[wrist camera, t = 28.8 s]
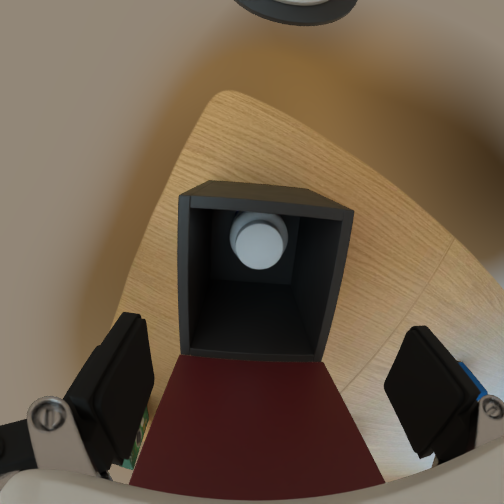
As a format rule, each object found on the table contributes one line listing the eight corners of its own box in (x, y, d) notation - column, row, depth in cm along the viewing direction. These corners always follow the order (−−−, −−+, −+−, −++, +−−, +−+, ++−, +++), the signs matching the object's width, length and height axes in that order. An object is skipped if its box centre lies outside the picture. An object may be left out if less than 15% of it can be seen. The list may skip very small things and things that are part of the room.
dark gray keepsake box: (208, 180, 31) (178, 194, 17) (308, 189, 32) (355, 210, 18) (204, 281, 35) (180, 354, 21) (294, 287, 36) (321, 362, 22)
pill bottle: (289, 217, 32) (307, 240, 23) (261, 253, 33) (267, 289, 24) (251, 189, 31) (253, 200, 22) (223, 226, 32) (214, 253, 23)
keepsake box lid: (125, 490, 7) (129, 498, 7) (389, 489, 8) (383, 497, 8) (179, 353, 21) (179, 362, 21) (323, 361, 21) (321, 369, 21)
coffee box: (130, 388, 42) (107, 444, 29) (145, 392, 42) (125, 450, 29) (135, 414, 44) (118, 466, 31) (149, 418, 44) (134, 471, 32)
